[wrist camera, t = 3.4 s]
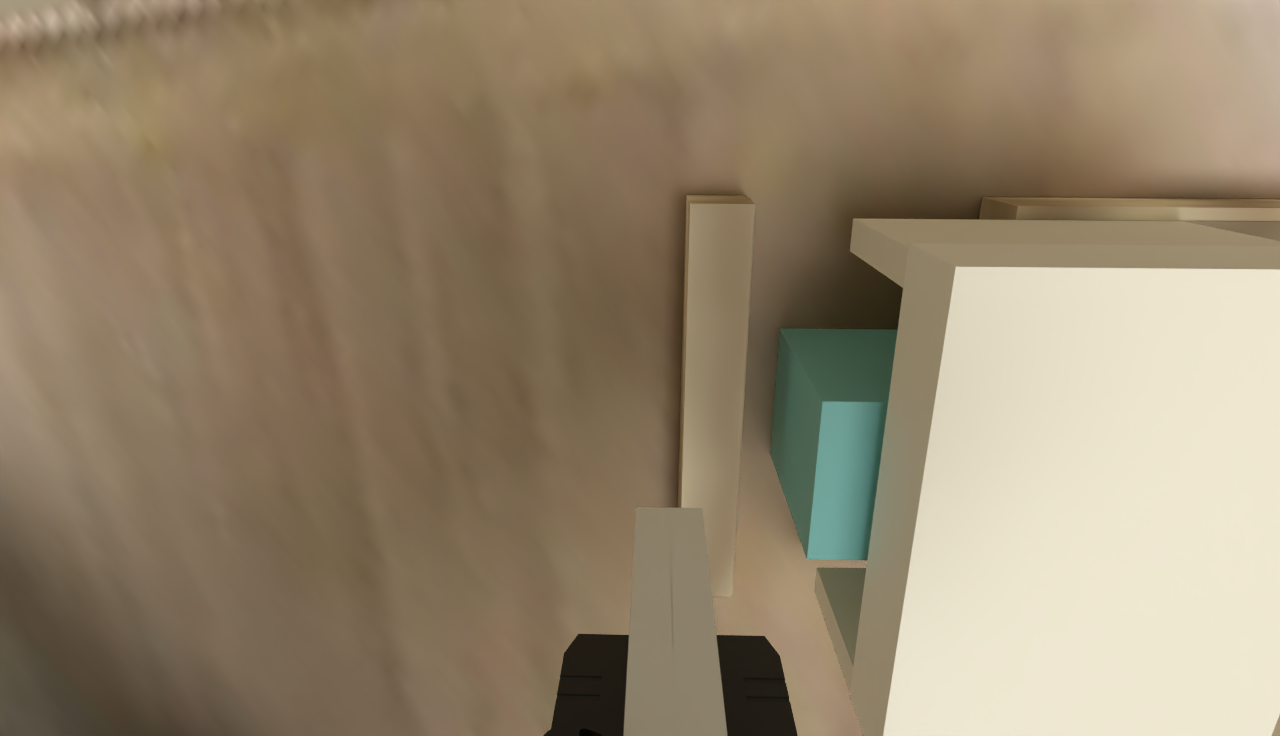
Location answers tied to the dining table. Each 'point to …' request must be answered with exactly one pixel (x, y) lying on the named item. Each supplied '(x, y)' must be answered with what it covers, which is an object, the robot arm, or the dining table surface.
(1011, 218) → the beige rail frame
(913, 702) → the cream bridge stand
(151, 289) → the dining table surface
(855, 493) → the teal block
